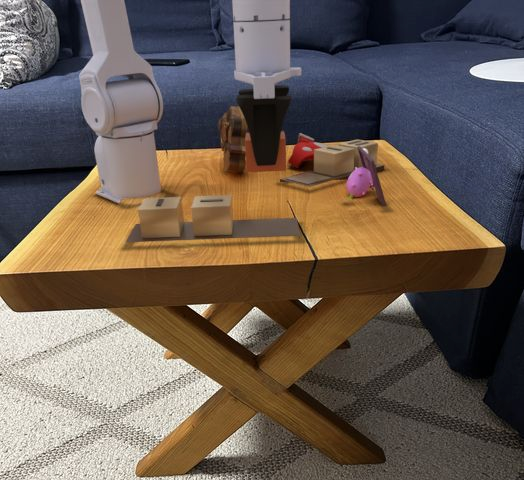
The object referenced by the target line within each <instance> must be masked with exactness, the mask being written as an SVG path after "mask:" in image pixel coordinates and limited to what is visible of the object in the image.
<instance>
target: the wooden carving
mask: <svg viewBox="0 0 524 480" xmlns="http://www.w3.org/2000/svg"><path fill="white" fill-rule="evenodd" d="M217 127H218V133H219V135H220V149H221V151H222V152H223V158H222V159H223V168H224V170H225V171H226V172H234V173H240V174H242V173H243V172H245V169H246V149H245V137H246V133H248V126H247V123H246V120H245V118H244V115H243V113H242V111H241V109H240V108H239V105H237V106H233V105H231V106H230V107H229V108H228V111H227V112H224V113H223V115H222V117H221V118H220V119H219V120H218V124H217Z"/></svg>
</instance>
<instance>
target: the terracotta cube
mask: <svg viewBox="0 0 524 480" xmlns="http://www.w3.org/2000/svg"><path fill="white" fill-rule="evenodd" d="M285 133H286V132H285V131H284V130H281V135H280V142H279V150H278V156H277V161H276V164H275V165H265V166H257V164H256V161H255V157H254V153H253V148H252V143H251V138H250V133H249V132H247V133H246V137H245V149H246V167H245V169H246V173H264V172H265V173H266V172H267V173H268V172H287V140H286V134H285Z"/></svg>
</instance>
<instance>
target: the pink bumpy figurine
mask: <svg viewBox="0 0 524 480" xmlns="http://www.w3.org/2000/svg"><path fill="white" fill-rule="evenodd" d="M357 148H358V152H359V155H360V159H361V162H362V165H363V166H362V167H359V168H357V167H355V170H354V171H353V172H352V174H351V175H350V176H349V178H348V180H347V181H346V185H345V186H346V191H347V193H348V194H349V196H348V199H349V200H353V199H354V198H361V197H363V196H365V194H366V193H367V192H368V190H369V189H371V188H372V190H373V191H375V194H376V197H377V199H378V201H379V203H381V205H382V206H383V207H386V206H387V202H386V198H385V195H384V192H383V189H382V185H381V181H380V178H379V173H378V172H377V170H376V167H375V163H374V160H373V159H372V158H371V157H370V156H369V155H368V150H367V149H365V148H361V147H360V146H358V147H357ZM365 159H366V160H367V162H366V160H365ZM364 160H365V161H364ZM365 162H366V165H367V163H368V165H367V167H368V166H369V167H368V169H367V168H366V165H365Z"/></svg>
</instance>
